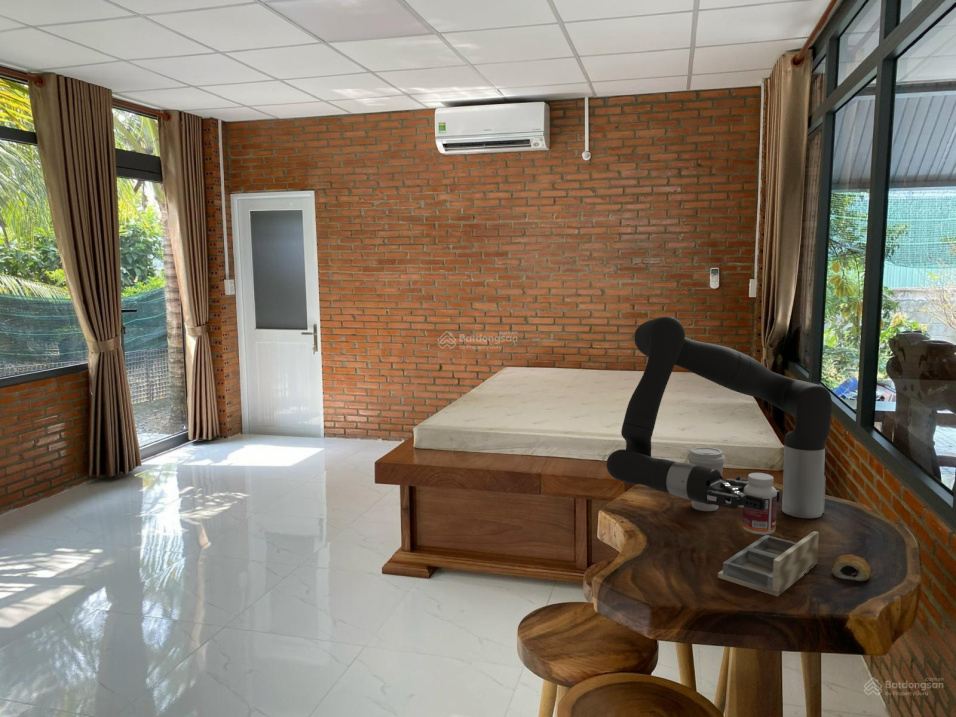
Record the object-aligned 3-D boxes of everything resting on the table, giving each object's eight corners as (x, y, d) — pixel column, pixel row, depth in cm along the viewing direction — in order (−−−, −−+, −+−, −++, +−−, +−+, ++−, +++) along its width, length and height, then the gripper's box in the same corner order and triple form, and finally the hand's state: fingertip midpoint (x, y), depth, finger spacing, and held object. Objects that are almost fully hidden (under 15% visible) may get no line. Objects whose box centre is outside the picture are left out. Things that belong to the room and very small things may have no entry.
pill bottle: (760, 522, 144) (762, 470, 143) (782, 532, 139) (785, 478, 137) (735, 526, 142) (737, 473, 141) (757, 537, 137) (759, 482, 135)
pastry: (836, 561, 150) (837, 543, 149) (873, 568, 146) (874, 550, 146) (830, 577, 142) (831, 559, 142) (868, 585, 138) (869, 567, 138)
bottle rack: (760, 548, 156) (761, 518, 155) (817, 564, 148) (818, 532, 147) (717, 577, 142) (718, 544, 142) (777, 596, 134) (778, 561, 133)
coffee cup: (679, 508, 183) (680, 451, 181) (695, 498, 190) (696, 444, 189) (715, 516, 177) (717, 457, 175) (730, 505, 184) (731, 449, 182)
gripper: (676, 472, 144) (757, 490, 132) (710, 458, 154) (788, 474, 142) (675, 507, 145) (755, 529, 133) (709, 491, 155) (786, 510, 143)
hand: (772, 500), depth 138 cm, fingers closed on pill bottle, 6 cm apart
